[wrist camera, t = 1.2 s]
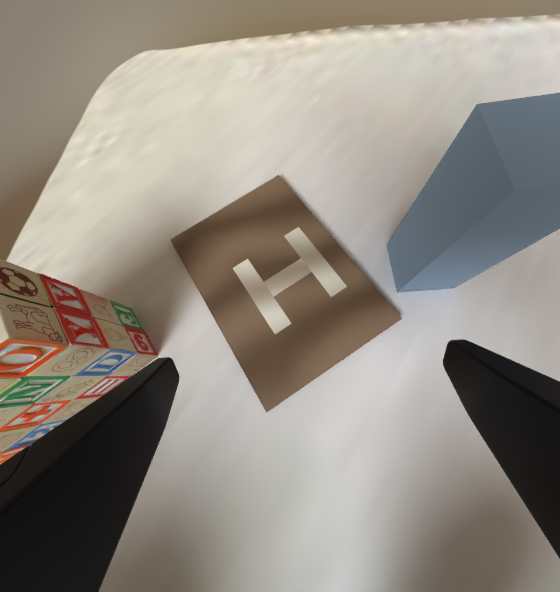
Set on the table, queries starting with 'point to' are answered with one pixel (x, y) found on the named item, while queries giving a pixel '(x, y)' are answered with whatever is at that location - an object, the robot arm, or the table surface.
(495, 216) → the blue pillar
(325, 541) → the table surface
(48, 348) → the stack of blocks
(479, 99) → the table surface
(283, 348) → the letter board
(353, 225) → the table surface
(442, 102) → the table surface
